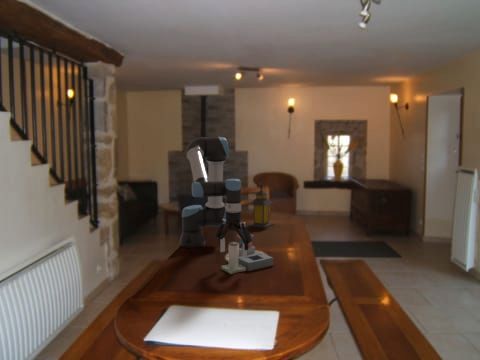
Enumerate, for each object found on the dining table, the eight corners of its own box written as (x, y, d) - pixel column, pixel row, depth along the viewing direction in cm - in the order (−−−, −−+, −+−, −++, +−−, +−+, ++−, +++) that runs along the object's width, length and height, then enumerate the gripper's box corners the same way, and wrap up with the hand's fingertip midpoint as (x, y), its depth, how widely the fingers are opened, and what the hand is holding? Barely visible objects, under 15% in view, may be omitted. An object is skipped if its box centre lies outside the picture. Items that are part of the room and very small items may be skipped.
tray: (221, 269, 203) (221, 265, 203) (236, 265, 208) (236, 262, 208) (230, 274, 196) (230, 270, 196) (245, 270, 201) (245, 267, 201)
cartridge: (232, 265, 206) (232, 241, 204) (240, 267, 203) (240, 242, 201) (226, 268, 202) (226, 243, 200) (234, 270, 199) (234, 245, 197)
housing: (229, 261, 215) (229, 248, 215) (252, 256, 224) (252, 243, 223) (248, 270, 201) (248, 256, 200) (273, 265, 209) (273, 251, 208)
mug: (251, 257, 222) (251, 238, 221) (234, 256, 224) (234, 237, 223) (256, 251, 234) (256, 232, 233) (240, 250, 236) (240, 231, 235)
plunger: (244, 249, 219) (244, 241, 218) (249, 248, 220) (249, 240, 220) (248, 250, 216) (248, 242, 216) (252, 249, 218) (252, 241, 217)
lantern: (274, 224, 300) (274, 183, 297) (265, 228, 289) (265, 185, 285) (257, 222, 308) (257, 182, 304) (247, 225, 296) (247, 184, 293)
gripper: (208, 209, 203) (209, 251, 206) (250, 215, 188) (250, 260, 191) (218, 207, 209) (218, 248, 212) (259, 212, 194) (259, 256, 197)
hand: (233, 254), depth 201 cm, fingers open, 13 cm apart
